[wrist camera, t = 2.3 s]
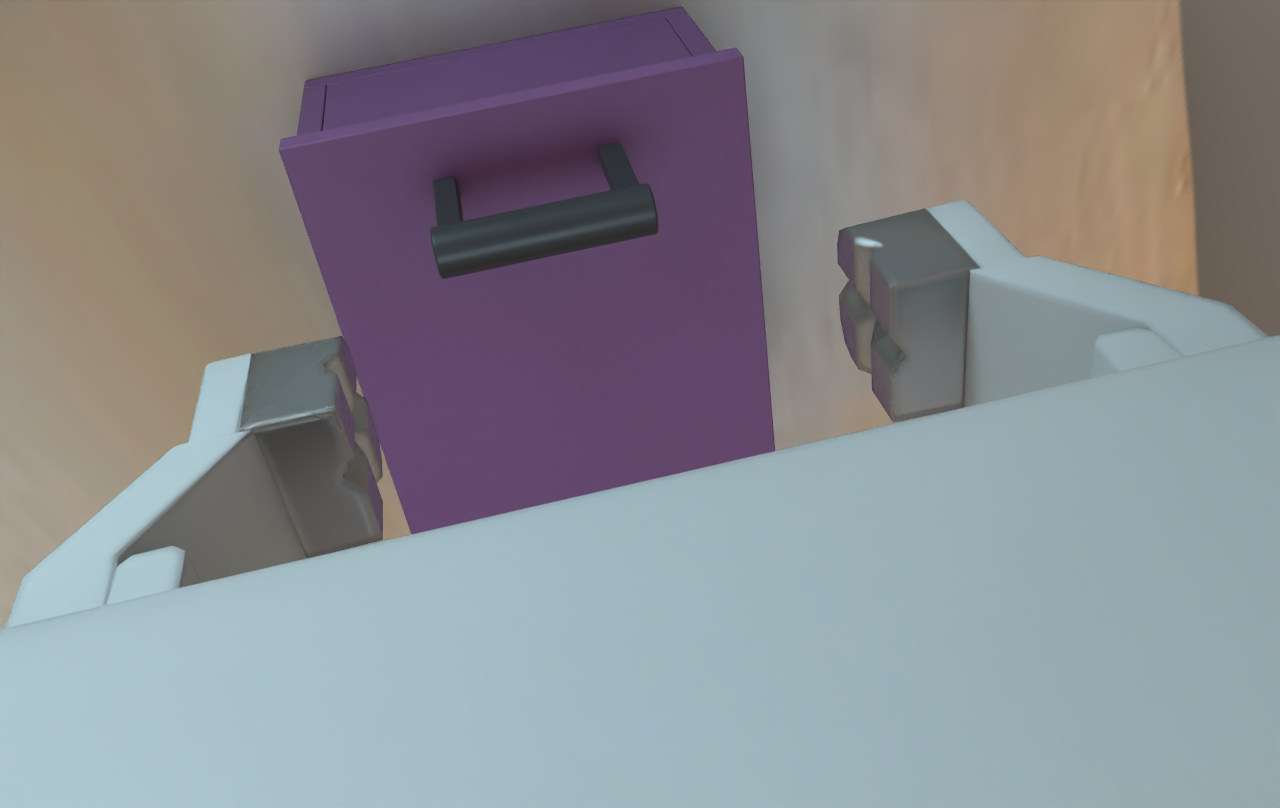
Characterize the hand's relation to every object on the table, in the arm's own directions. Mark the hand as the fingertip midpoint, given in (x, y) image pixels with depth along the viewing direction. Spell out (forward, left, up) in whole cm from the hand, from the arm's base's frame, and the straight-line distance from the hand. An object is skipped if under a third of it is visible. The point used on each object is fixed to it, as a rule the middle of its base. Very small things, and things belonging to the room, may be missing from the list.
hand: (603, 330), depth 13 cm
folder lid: (+13, 0, -21) cm, 25 cm away
